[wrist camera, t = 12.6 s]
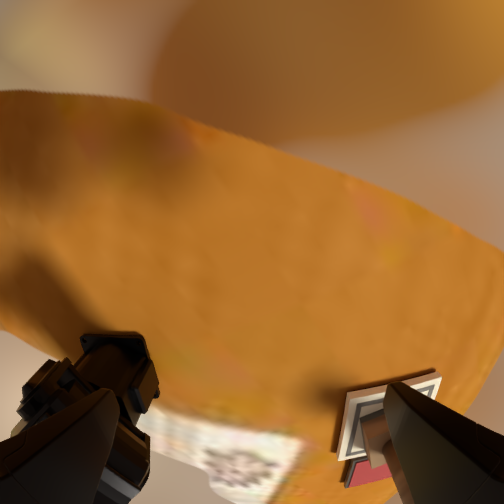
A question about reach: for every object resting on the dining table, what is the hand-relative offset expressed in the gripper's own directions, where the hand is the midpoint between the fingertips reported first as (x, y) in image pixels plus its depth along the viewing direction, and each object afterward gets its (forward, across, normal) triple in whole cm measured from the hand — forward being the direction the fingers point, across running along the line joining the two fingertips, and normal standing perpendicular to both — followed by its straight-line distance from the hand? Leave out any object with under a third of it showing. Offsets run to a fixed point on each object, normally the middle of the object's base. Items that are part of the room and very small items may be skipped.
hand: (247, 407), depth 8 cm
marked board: (+13, -13, +17) cm, 25 cm away
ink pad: (+13, -14, +26) cm, 32 cm away
